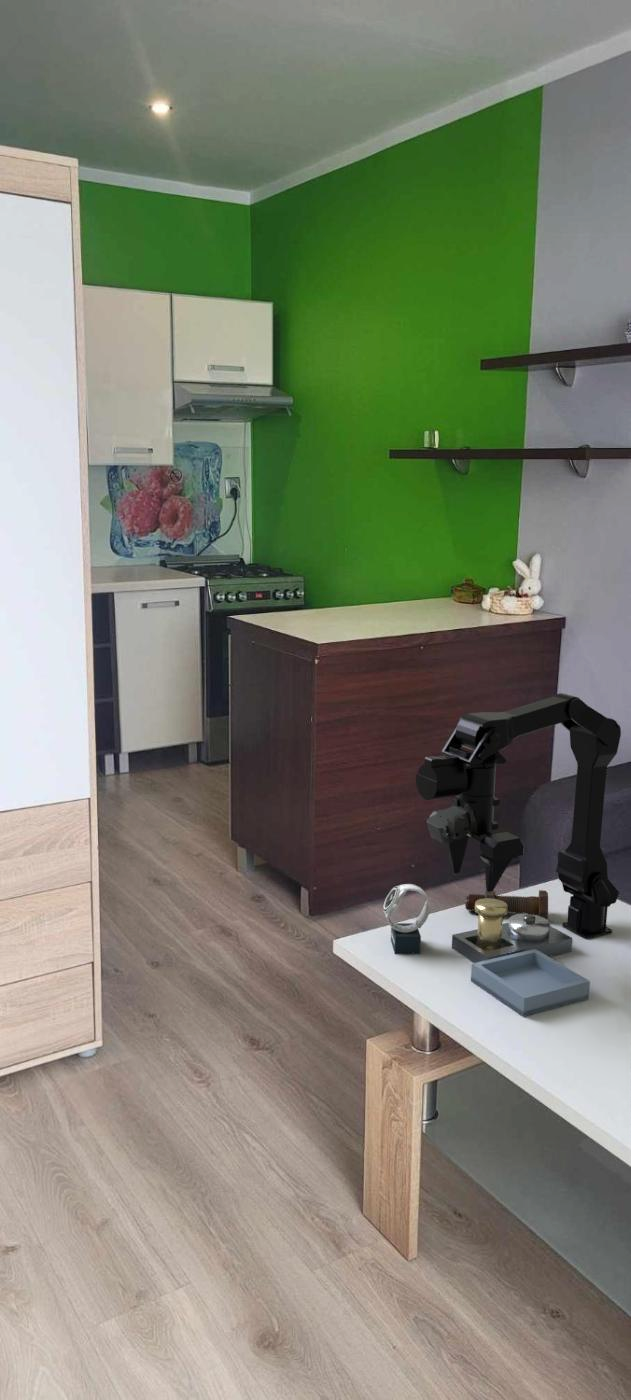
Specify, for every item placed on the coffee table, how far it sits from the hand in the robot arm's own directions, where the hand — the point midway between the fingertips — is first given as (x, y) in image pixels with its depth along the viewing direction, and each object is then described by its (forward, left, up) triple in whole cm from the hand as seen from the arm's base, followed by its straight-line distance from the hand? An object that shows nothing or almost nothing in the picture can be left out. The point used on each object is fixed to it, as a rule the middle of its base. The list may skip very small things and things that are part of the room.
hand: (472, 881), depth 176 cm
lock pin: (-4, +1, -14) cm, 14 cm away
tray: (-2, +14, -14) cm, 19 cm away
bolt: (-18, -12, -14) cm, 26 cm away
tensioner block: (-9, +1, -14) cm, 16 cm away
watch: (+7, -8, -14) cm, 18 cm away
